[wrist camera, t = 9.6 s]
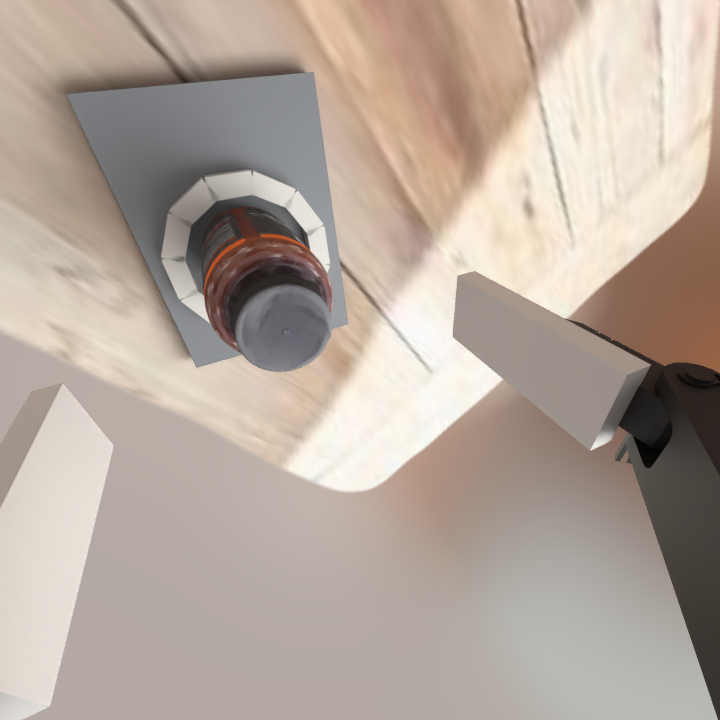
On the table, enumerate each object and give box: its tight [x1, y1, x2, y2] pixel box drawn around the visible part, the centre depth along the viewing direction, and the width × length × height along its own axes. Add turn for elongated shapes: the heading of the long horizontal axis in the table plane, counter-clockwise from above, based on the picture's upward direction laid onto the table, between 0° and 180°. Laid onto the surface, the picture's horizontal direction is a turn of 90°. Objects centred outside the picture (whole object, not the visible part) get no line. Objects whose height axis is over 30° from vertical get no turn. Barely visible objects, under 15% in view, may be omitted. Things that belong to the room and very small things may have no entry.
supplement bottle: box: [200, 207, 333, 372], centre depth 18 cm, size 6×6×11 cm
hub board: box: [66, 72, 348, 368], centre depth 22 cm, size 16×12×2 cm
